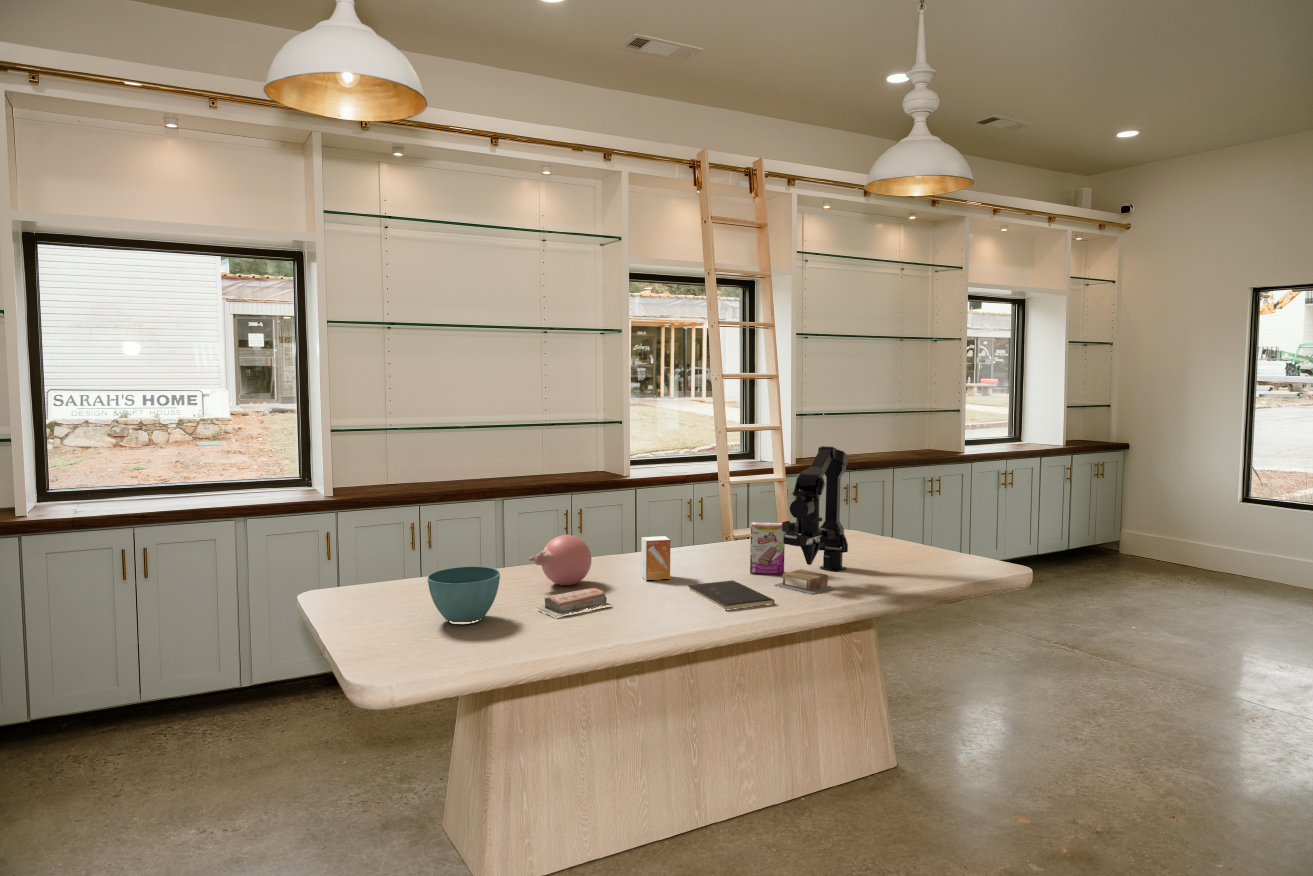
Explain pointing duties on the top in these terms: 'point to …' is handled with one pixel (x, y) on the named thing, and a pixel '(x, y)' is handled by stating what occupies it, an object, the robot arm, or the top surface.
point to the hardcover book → (730, 594)
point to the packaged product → (574, 601)
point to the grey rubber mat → (803, 590)
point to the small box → (655, 558)
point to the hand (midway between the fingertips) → (809, 564)
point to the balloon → (564, 560)
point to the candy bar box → (766, 548)
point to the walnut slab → (805, 580)
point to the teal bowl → (464, 592)
